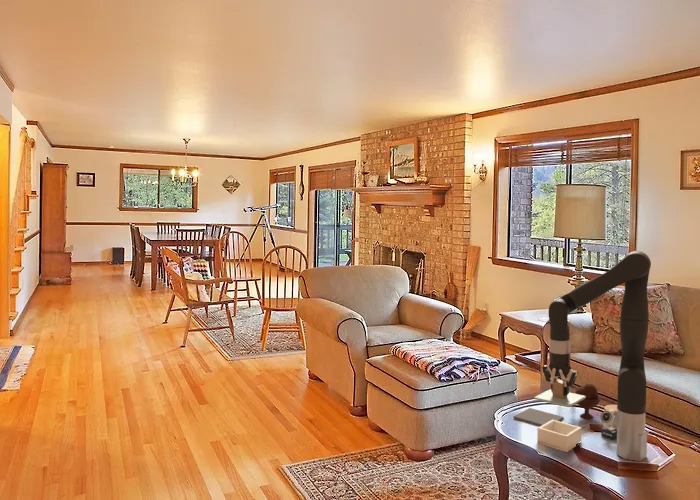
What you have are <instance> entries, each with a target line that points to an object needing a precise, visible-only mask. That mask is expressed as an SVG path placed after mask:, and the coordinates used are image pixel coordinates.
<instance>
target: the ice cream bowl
mask: <svg viewBox="0 0 700 500" xmlns="http://www.w3.org/2000/svg"><path fill="white" fill-rule="evenodd" d="M574 394H579V395H583V396H586V398H585V399H583V400H581V401H580V402H578V403H577V405H578V406H580V407H581V408H583V410H584V412H583V413H582V414H580V415H579V418H580V419H583V420H588V421H589V420H593V419H594V416H593V415H592V414H591V413H590V409H593V408H596V406H597V405H599V403H600V402H601V399H602V396H600V395H599V394H598V389H597V387H596V386H595V385H594V384H593V383H585V385H583V386H580V387H578V388H577V389H576V390H575V393H574Z"/></svg>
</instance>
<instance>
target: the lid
mask: <svg viewBox="0 0 700 500" xmlns="http://www.w3.org/2000/svg"><path fill="white" fill-rule="evenodd" d="M585 398H586V396H583V395H579V394H575V393H574V392H570V391H569V394H568V395H567V396H564V384H563V381H562V379H560V378H559V379H558V378H557V380H555V381H553V393H552V391H551V388H549V389H548V390H546V391H543V392H541V393H540V394H538V395H535V396H534V397H533V399H534V400H536V401H539V402H544V403H548V404H552V405H553V404H554V405H557V406H559V407H565V408H571V407H573V406H575V405H576V404H578V402H580V401H581V400H583V399H585Z"/></svg>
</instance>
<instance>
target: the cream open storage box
mask: <svg viewBox="0 0 700 500" xmlns="http://www.w3.org/2000/svg"><path fill="white" fill-rule="evenodd" d="M536 430H537V435H536V436H537V439H536V440H537V441H536V442H537V444H540V445H543V446H547V447H549V448H553V449H557V450H559V451H562V452H566V453H567V452H569V451H571V450H572V449H574V448H575V447H577V446H576V444H577V443H578V442H580V441H581V442H582V427H581V426H578V425H573V424H570V423H566V422H563V421H556V420H551V421H549V422H547V423H545V424H544V425H542V426H538V427H537V429H536Z"/></svg>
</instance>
